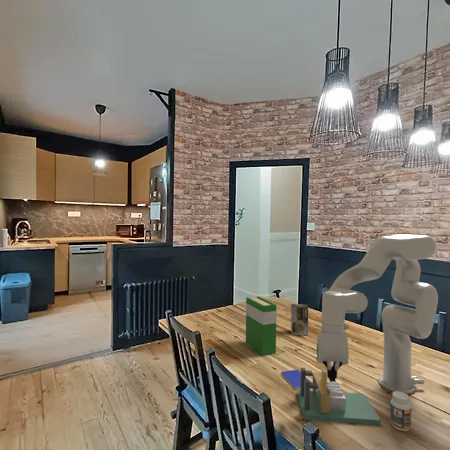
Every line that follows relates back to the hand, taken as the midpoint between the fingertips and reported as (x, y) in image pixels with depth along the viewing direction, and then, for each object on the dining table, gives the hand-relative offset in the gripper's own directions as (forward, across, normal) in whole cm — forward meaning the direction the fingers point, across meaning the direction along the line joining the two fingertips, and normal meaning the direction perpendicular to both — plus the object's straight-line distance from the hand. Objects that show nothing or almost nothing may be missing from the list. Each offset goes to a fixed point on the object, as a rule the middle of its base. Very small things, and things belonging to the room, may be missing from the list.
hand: (331, 379), depth 107 cm
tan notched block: (+8, +4, 0) cm, 9 cm away
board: (+10, -1, 0) cm, 10 cm away
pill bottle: (+10, -19, +8) cm, 23 cm away
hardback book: (+10, +23, -47) cm, 54 cm away
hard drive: (+10, +9, -17) cm, 22 cm away
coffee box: (+10, 0, -70) cm, 71 cm away
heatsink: (+8, +1, 0) cm, 8 cm away
